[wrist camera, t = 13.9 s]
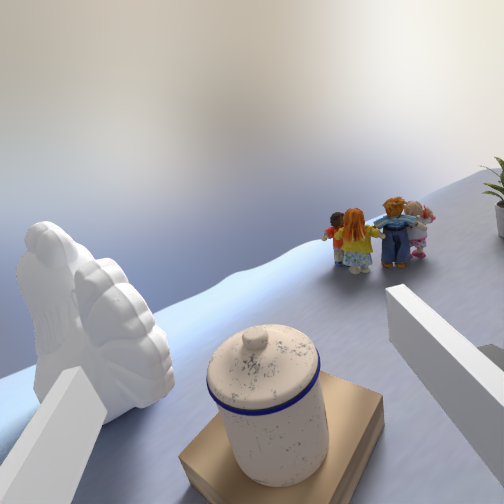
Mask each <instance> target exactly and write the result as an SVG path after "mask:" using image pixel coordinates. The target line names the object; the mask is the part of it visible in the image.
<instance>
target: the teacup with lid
mask: <svg viewBox="0 0 504 504" xmlns="http://www.w3.org/2000/svg"><path fill="white" fill-rule="evenodd" d="M319 372H320V357H319V353H318V351H317V349H316V347H315V346H314V344H313V343H312V341H311V340H310V339H309V338H308V337H307V336H306V335H305V334H303V333H302V332H300V331H298V330H296V329H294V328H291V327H288V326H284V325H260V326H252V327H249V328H248V329H245V330H243V331H241V332H239V333H237V334H235V335H233V336H231V337H230V338H228V339H227V340H226V341H225V342H224V343H222V344H221V345H220V346H219V347H218V349H217V350H216V351H215V353H214V354H213V356H212V358H211V360H210V362H209V365H208V369H207V379H206V380H207V387H208V391H209V393H210V395H211V397H212V398H213V400H214V401H215V402H216V404H217V407H218V409H219V412H220V415H221V418H222V421H223V424H224V427H225V430H226V433H227V435H228V438H229V441H230V444H231V447H232V450H233V453H234V456H235V458H236V461H237V463H238V465H239V466H240V468H241V469H242V471H243V472H244V473H245V474H246V475H247V476H248V477H250V478H251V479H252V480H254V481H256V482H258V483H260V484H262V485H266V486H270V487H287V486H291V485H295V484H297V483H300V482H302V481H304V480H305V479H307V478H308V477H310V476H311V475H312V474H313V473H314V472H315V471H316V470H317V469H318V468H319V467H320V465H321V464H322V462H323V460H324V458H325V456H326V454H327V451H328V447H329V439H330V437H329V427H328V421H327V416H326V410H325V404H324V398H323V392H322V386H321V381H320V375H319Z"/></svg>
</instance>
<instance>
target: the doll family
mask: <svg viewBox="0 0 504 504" xmlns="http://www.w3.org/2000/svg"><path fill="white" fill-rule="evenodd" d="M401 198H402V197H396V198H394V199H393V198H390V199H388V200H387V201H386V202H385V203H384V204H383V206H384V208H385V209H386V213H387V216H384V217H383V218H381V219H378V220H376V221H375V222H374V224H375V225H374V226H370V225H365V220H364V215H363V212H362V211H361V210H360V209H358V208H354V209H348V210H347V211H346V212H345V214H343V213H340V212H336V213H334V214H332V216H331V218H330V219H331V222H330V223H331V225H332V226H333V227H330V228H328V229H327V230H325V231H324V236H323V237H322V240H323V241H326V240H327V238H328V239H331V238H333V249H334V259H335V264H336V266H343V265H347V266H351V267H350V268H349V271H350V272H351V273H353V274H359V273H360V272H362V273H369V272H370V266H369V265H371V264H372V259H371V255H370V253H371V252H373V250H372V245H371V237H370V236H372V237H375V238H378V237H380V238H381V239H382V255H381V257H382V258H381V261H382V264H383V265H384V266H385V267H393V263H392V262H395V265H396V266H397V267H399V268H404V267H405V266H406V261H409V260H410V259H411V258H413V256H412V255H414V256H416V257H425V256H426V255H425V253H424V252H423V247H426V240H425V238H426V237H427V231H426V230H427V226H426V224H428V223H432V221H433V220H435V218H436V217H435V216H434V215H433V212H432V210H430V209H428V208H425V206H424V208H425V209H424V210H423V209H422V206H421V204H420V203H419V202H417V201H409V202H408V203H407V202H405V201H404V200H403V199H401ZM404 204H406V206H405V205H404ZM403 209H404V212H405V215H402V214H401V213H402V211H403ZM417 215H420V216H419V217H416V216H417ZM376 227H377V228H378V229H382V228H383V233H381V232H380V230H377V229H376ZM412 246H415V247H416V248H417V249H416V250H414V251H413V252H412V255H411V254H410V247H412ZM359 267H360V268H359Z"/></svg>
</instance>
